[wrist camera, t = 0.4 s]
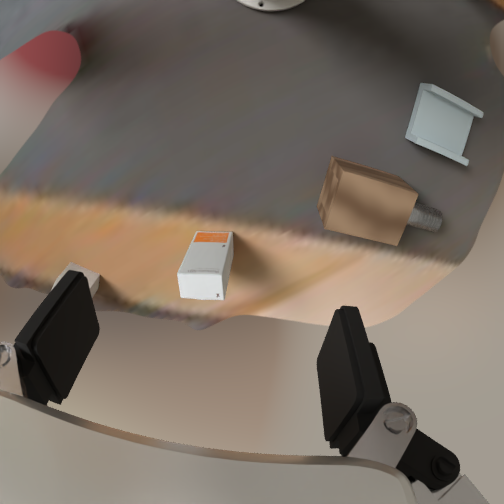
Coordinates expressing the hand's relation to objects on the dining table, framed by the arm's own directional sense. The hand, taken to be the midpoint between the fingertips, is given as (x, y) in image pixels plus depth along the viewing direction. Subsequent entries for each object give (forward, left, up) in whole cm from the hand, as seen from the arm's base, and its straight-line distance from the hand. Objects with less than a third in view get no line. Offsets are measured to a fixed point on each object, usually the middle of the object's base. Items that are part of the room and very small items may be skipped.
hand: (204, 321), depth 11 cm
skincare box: (+17, -3, -35) cm, 39 cm away
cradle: (-11, +26, -35) cm, 45 cm away
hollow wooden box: (+4, +17, -35) cm, 39 cm away
